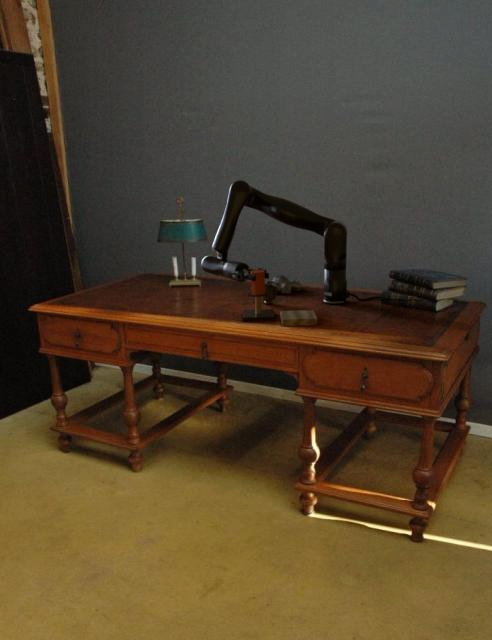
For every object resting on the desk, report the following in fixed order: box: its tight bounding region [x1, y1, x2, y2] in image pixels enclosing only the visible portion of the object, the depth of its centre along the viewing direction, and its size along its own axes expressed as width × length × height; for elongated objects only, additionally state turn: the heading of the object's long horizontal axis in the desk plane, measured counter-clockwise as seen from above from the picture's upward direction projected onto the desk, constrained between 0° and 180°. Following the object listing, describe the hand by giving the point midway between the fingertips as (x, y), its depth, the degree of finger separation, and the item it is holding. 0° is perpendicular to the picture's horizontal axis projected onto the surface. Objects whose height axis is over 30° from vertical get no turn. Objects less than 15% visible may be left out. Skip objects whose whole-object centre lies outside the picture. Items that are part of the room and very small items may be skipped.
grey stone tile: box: [279, 309, 318, 327], centre depth 251 cm, size 13×13×2 cm
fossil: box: [265, 274, 303, 295], centre depth 301 cm, size 18×11×15 cm
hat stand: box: [242, 297, 276, 322], centre depth 256 cm, size 12×12×14 cm
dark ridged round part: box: [261, 284, 277, 306], centre depth 277 cm, size 8×7×8 cm
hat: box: [247, 269, 269, 298], centre depth 254 cm, size 8×8×9 cm
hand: (261, 277), depth 251 cm, fingers closed on hat, 5 cm apart
